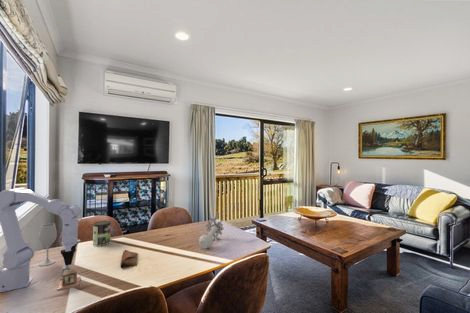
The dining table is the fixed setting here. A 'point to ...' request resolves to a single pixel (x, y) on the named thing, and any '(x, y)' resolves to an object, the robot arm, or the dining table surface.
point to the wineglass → (47, 239)
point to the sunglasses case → (128, 259)
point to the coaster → (68, 285)
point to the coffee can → (101, 233)
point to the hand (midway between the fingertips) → (69, 261)
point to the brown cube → (69, 277)
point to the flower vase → (211, 234)
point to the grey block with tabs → (64, 269)
